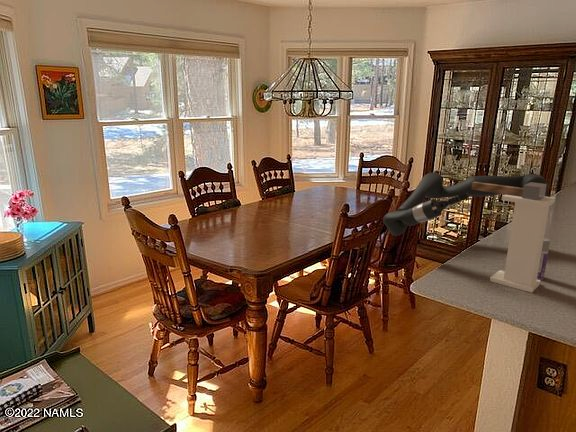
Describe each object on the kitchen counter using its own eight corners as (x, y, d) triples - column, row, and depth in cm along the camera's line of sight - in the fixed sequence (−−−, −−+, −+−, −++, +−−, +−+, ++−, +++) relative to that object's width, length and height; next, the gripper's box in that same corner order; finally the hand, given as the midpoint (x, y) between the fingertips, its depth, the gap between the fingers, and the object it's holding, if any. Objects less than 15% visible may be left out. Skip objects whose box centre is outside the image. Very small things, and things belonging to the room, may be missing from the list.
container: (538, 274, 163) (545, 237, 159) (546, 279, 159) (553, 241, 155) (526, 274, 163) (533, 237, 159) (534, 279, 159) (540, 241, 155)
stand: (489, 281, 157) (502, 195, 149) (499, 273, 164) (511, 191, 156) (532, 292, 148) (547, 202, 139) (539, 284, 155) (555, 197, 146)
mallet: (468, 190, 157) (470, 178, 156) (476, 187, 163) (478, 175, 162) (538, 200, 142) (540, 187, 141) (544, 196, 148) (546, 184, 146)
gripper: (415, 205, 170) (451, 190, 158) (431, 199, 180) (466, 185, 168) (422, 222, 169) (460, 209, 158) (438, 216, 179) (474, 202, 168)
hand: (463, 196), depth 163 cm, fingers open, 8 cm apart
